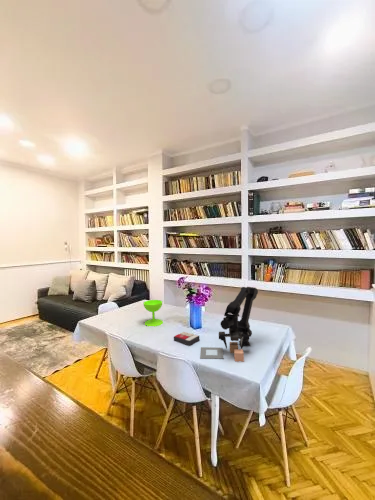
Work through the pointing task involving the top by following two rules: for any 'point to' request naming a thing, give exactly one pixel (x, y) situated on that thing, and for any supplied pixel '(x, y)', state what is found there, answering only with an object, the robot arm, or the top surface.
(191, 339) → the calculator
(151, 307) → the wineglass
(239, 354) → the top block
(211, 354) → the build plate
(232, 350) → the base block
